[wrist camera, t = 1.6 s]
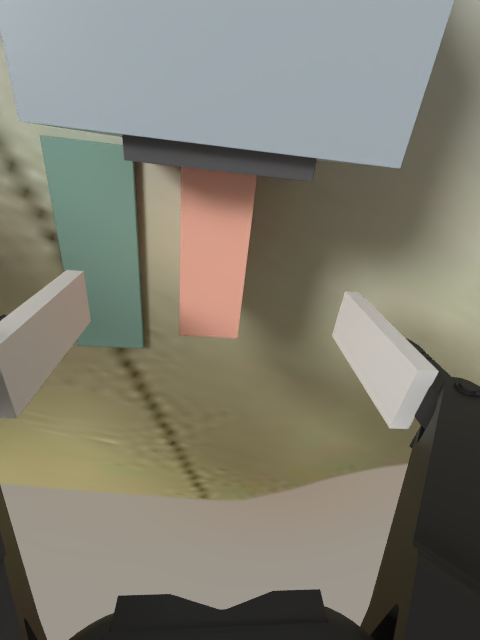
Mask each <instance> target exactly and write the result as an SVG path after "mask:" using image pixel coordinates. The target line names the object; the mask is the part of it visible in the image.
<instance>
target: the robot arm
mask: <svg viewBox="0 0 480 640" xmlns="http://www.w3.org/2000/svg"><path fill="white" fill-rule="evenodd" d="M90 322H91V319H90V312H89V305H88V298H87V291H86V284H85V277H84V271H75V270H66V271H65V272H63V273H62V274H61V275H59V276H58V277H57V278H56V279H54V280H53V281H52V282H50V283H49V284H48V285H46V286H45V287H44V288H43V289H41V290H40V291H39V292H37V293H36V294H35V295H33V296H32V297H31V298H30V299H28V300H27V301H26V302H24V303H23V304H22V305H20V306H19V307H18V308H17V309H15V310H14V311H13V312H11V313H10V314H9V315H2V316H0V418H18V417H19V415H20V414H21V413H22V411H23V410H24V409H25V407H26V406H27V405H28V403H29V402H30V401H31V400H32V398H33V397H34V396H35V394H36V393H37V392H38V390H39V389H40V388H41V386H42V385H43V384H44V382H45V381H46V380H47V378H48V377H49V376H50V374H51V373H52V372H53V371H54V369H55V368H56V367H57V365H58V364H59V363H60V361H61V360H62V359H63V357H64V356H65V355H66V353H67V352H68V351H69V349H70V348H71V347H72V345H73V344H74V343H75V342H76V340H77V339H78V338H79V336H80V335H81V334H82V332H83V331H84V330H85V328H86V327H87V326H88V324H89V323H90ZM332 337H333V338H334V340H335V342H336V343H337V345H338V346H339V348H340V350H341V351H342V353H343V354H344V356H345V358H346V359H347V361H348V362H349V364H350V366H351V367H352V369H353V371H354V372H355V374H356V375H357V377H358V379H359V380H360V382H361V383H362V385H363V387H364V388H365V390H366V391H367V393H368V395H369V396H370V398H371V399H372V401H373V403H374V404H375V406H376V408H377V409H378V411H379V412H380V414H381V416H382V417H383V419H384V420H385V422H386V424H387V425H388V427H389V428H390V429H409V427H410V425H411V423H412V421H413V420H414V418H416V419H417V420H418V422H419V423H420V424H421V426H420V428H419V430H418V431H417V433H416V435H415V437H414V439H413V441H412V442H411V444H410V446H409V447H411V448H413V449H412V452H411V456H410V460H409V463H408V467H407V471H406V474H405V478H404V482H403V486H402V489H401V493H400V496H399V500H398V504H397V507H396V511H395V515H394V518H393V522H392V525H391V529H390V533H389V536H388V540H387V544H386V547H385V551H384V555H383V558H382V562H381V566H380V569H379V573H378V577H377V580H376V584H375V587H374V591H373V595H372V598H371V601H370V605H369V607H368V610H367V612H366V615H365V617H364V619H363V622H362V624H361V626H360V627H359V626H358V625H357V624H356V623H354V622H353V621H352V620H350V619H348V618H347V617H345V616H344V615H342V614H341V613H338V612H336V611H334V610H332V609H330V608H328V607H325V606H324V604H323V600H322V596H321V592H320V589H319V590H287V591H272V592H269V593H267V594H264V595H262V596H259V597H256V598H254V599H251V600H249V601H247V602H244V603H241V604H239V605H236V606H234V607H231V608H229V609H225V610H219V609H216V608H212V607H209V606H206V605H203V604H200V603H197V602H193V601H190V600H187V599H184V598H181V597H178V596H174V595H171V594H161V595H131V596H130V595H129V596H118V599H117V603H116V608H115V612H114V613H113V614H110V615H108V616H105V617H103V618H101V619H99V620H97V621H95V622H94V623H92V624H90V625H88V626H87V627H86V628H84V629H83V630H81V631H80V632H78V633H77V634H75V635H74V636H73V637H72V638H70V639H69V640H480V387H479V386H478V385H476V384H474V383H472V382H470V381H468V380H465V379H462V378H456V377H451V376H450V375H449V374H448V373H447V372H446V371H445V370H443V369H442V368H441V367H440V366H439V365H438V364H437V363H436V362H435V361H434V360H432V358H431V357H430V356H429V355H428V354H426V352H425V351H424V350H423V349H422V348H421V347H420V346H419V345H417V344H415V343H414V342H412V341H411V340H409V339H407V338H405V337H404V336H403V335H402V334H401V333H400V332H398V331H397V330H396V329H395V328H394V327H393V326H392V325H391V324H390V323H389V322H388V321H387V320H386V319H385V318H384V317H383V316H382V315H381V314H380V313H379V312H378V311H377V310H376V309H375V308H374V307H373V306H372V305H371V304H370V303H369V302H368V301H367V300H366V299H365V298H364V297H363V296H362V295H361V294H360V293H359V292H349V291H345V293H344V296H343V300H342V303H341V307H340V310H339V313H338V317H337V320H336V324H335V327H334V330H333V334H332ZM0 640H47V638H46V636H45V633H44V630H43V627H42V625H41V622H40V619H39V616H38V613H37V609H36V606H35V603H34V599H33V596H32V593H31V589H30V586H29V582H28V579H27V576H26V572H25V568H24V565H23V562H22V558H21V555H20V551H19V548H18V544H17V541H16V538H15V534H14V531H13V527H12V524H11V521H10V517H9V514H8V510H7V507H6V503H5V500H4V497H3V493H2V490H1V486H0Z"/></svg>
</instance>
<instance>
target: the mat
mask: <svg viewBox="0 0 480 640" xmlns="http://www.w3.org/2000/svg"><path fill="white" fill-rule="evenodd" d="M40 141H41V146H42V152H43V157H44V163H45V168H46V174H47V179H48V185H49V191H50V196H51V202H52V207H53V213H54V218H55V224H56V229H57V235H58V241H59V246H60V252H61V257H62V263H63V268H64V272H65V271H66V270H75V271H84V277H85V284H86V291H87V298H88V305H89V312H90V319H91V322H90V323H89V324H88V326H87V327H86V328H85V330H84V331H83V332H82V334H81V335H80V336H79V338H78V339H77V345H81V346H104V347H127V348H143V347H144V331H143V313H142V294H141V275H140V257H139V238H138V219H137V200H136V182H135V163H134V161H126V160H124V152H123V145H117V144H109V143H100V142H92V141H84V140H75V139H67V138H59V137H50V136H41V135H40Z"/></svg>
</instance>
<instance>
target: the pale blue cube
mask: <svg viewBox="0 0 480 640" xmlns="http://www.w3.org/2000/svg"><path fill="white" fill-rule="evenodd" d="M453 3H454V0H0V30H1V35H2V40H3V45H4V50H5V55H6V60H7V65H8V70H9V74H10V79H11V84H12V89H13V94H14V99H15V104H16V109H17V114H18V119H19V121H21V122H28V123H34V124H41V125H47V126H54V127H60V128H67V129H73V130H80V131H87V132H93V133H100V134H106V135H113V136H119V137H122V138H123V152H124V160H126V161H134V162H143V163H152V164H161V165H169V166H178V167H187V168H196V169H204V170H213V171H222V172H231V173H239V174H248V175H257V176H265V177H274V178H283V179H292V180H300V181H309V182H312V180H313V175H314V170H315V165H316V161H326V162H336V163H347V164H357V165H368V166H378V167H389V168H399V169H400V167H401V164H402V161H403V158H404V155H405V152H406V149H407V146H408V142H409V139H410V136H411V133H412V130H413V127H414V124H415V121H416V118H417V115H418V112H419V108H420V105H421V102H422V99H423V96H424V93H425V90H426V87H427V84H428V81H429V78H430V74H431V71H432V68H433V65H434V62H435V59H436V56H437V53H438V50H439V47H440V43H441V40H442V37H443V34H444V31H445V28H446V25H447V22H448V19H449V16H450V13H451V9H452V6H453Z"/></svg>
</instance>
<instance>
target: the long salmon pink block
mask: <svg viewBox="0 0 480 640" xmlns="http://www.w3.org/2000/svg"><path fill="white" fill-rule="evenodd" d="M256 181H257V175H248V174H239V173H231V172H222V171H213V170H204V169H196V168H187V167H181V239H180V317H179V335H181V336H202V337H222V338H237V337H238V329H239V321H240V313H241V304H242V296H243V288H244V280H245V271H246V263H247V255H248V247H249V239H250V230H251V222H252V214H253V206H254V197H255V189H256Z"/></svg>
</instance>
